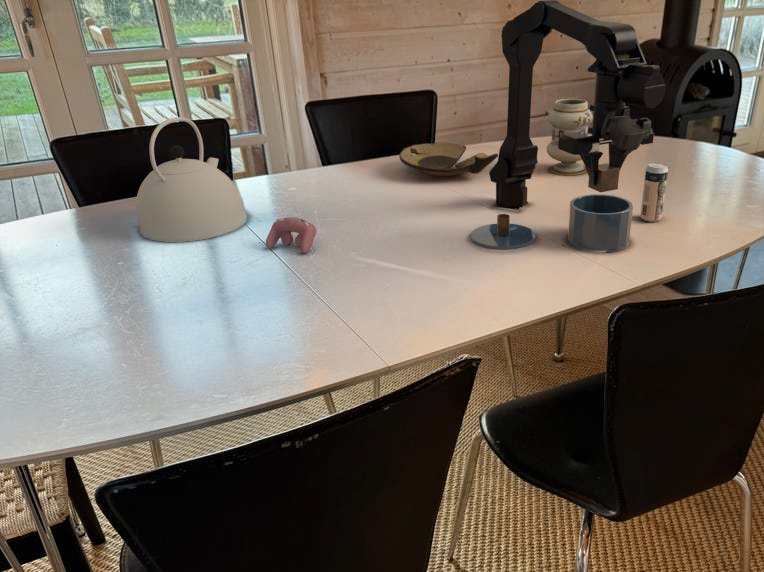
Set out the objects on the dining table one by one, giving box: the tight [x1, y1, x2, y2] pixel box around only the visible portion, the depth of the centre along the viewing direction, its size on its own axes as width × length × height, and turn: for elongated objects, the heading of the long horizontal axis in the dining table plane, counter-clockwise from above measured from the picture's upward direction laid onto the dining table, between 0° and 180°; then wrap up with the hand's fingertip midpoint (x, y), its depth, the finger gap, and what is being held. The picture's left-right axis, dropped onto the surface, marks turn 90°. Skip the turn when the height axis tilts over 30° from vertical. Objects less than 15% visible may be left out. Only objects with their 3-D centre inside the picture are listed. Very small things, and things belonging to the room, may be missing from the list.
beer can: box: [639, 162, 669, 223], centre depth 146 cm, size 5×5×12 cm
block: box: [587, 162, 621, 194], centre depth 131 cm, size 4×4×4 cm
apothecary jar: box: [546, 98, 594, 176], centre depth 178 cm, size 12×12×18 cm
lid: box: [470, 213, 536, 250], centre depth 138 cm, size 13×13×5 cm
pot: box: [567, 193, 634, 254], centre depth 136 cm, size 12×12×8 cm
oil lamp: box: [398, 142, 499, 177], centre depth 179 cm, size 22×30×8 cm
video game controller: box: [265, 216, 317, 254], centre depth 136 cm, size 10×5×7 cm, turn 71°
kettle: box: [135, 116, 248, 243], centre depth 145 cm, size 25×23×23 cm
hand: (603, 183), depth 132 cm, fingers closed on block, 4 cm apart
